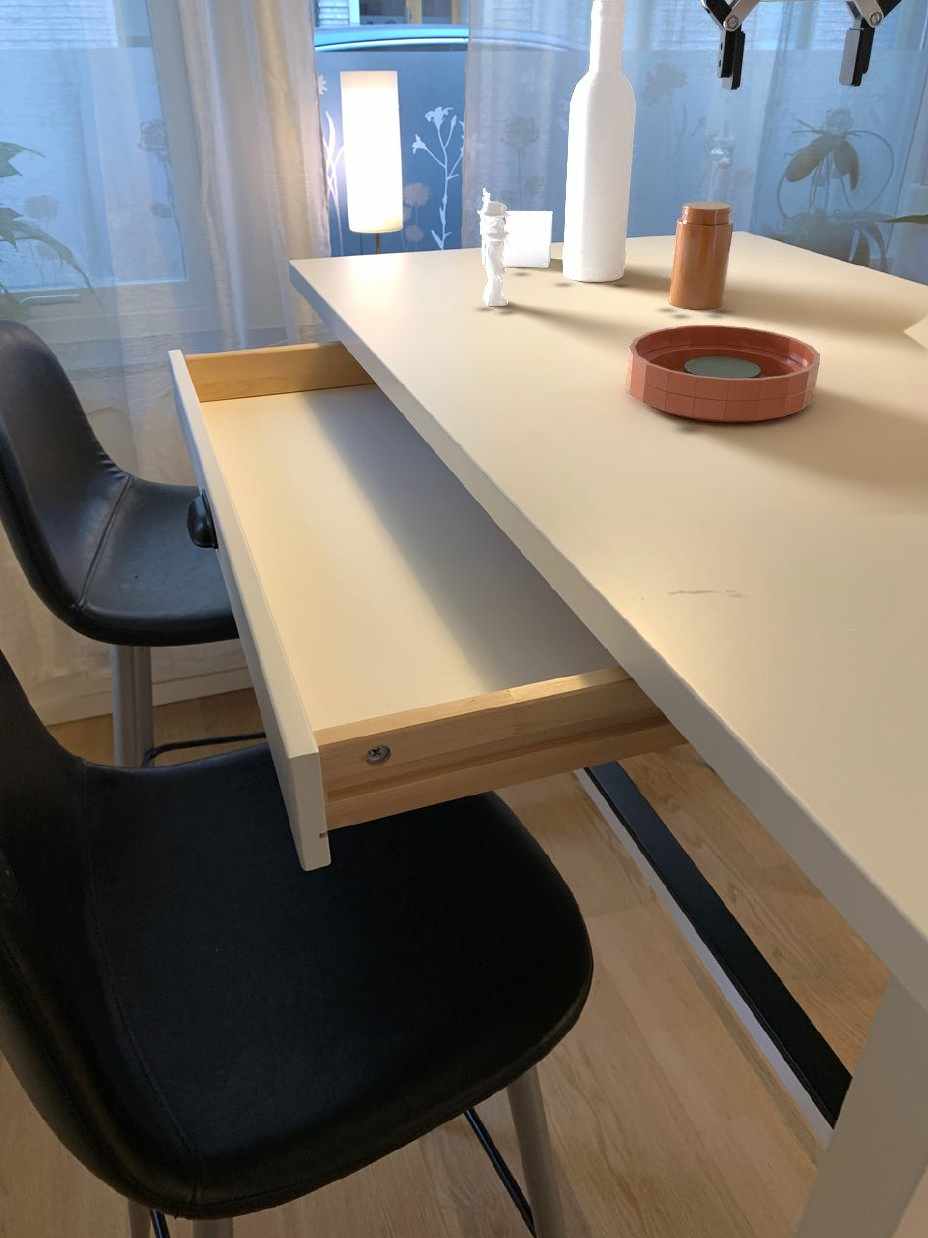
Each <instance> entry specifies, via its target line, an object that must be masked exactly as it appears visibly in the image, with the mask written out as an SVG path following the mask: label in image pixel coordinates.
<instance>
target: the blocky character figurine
mask: <svg viewBox="0 0 928 1238" xmlns="http://www.w3.org/2000/svg"><path fill="white" fill-rule="evenodd" d="M482 191H483V195H484V196H482V202H484V203H483V207H482V208H481V211H480V210H477V213H478V214H479V216H480V220H481V221H480V222H479V224H480V235H482V237H481V239H482V240H481V256H482V265H485V269H486V272H487V277H488V283H487V285H486V287H485V289H484V292H483V294H484V295H483V300H484V301H485V305H486V306H488V307H504V306H507V305H508V299H507V298H506V296H505V293H502V292H503V285H504V284H503V278H506V276H507V275H506V274H507V273H506V270H505V269H506V267H505V266H504V264H503V263H504V239H506V243H507V245H508V241H507V238H506V235H510V234H509V233H508V232H507V231H505V230H504V225H505V224H506V217H510V216H512V214H510V213H507V212H508V207H507V205H506V204H504V203H502V202H499V201H498V200H494V201H492V199H491V197H492V194H491V193H489V192H488V191H486V188H483V190H482ZM485 249H486V250H485ZM485 257H486V261H485Z"/></svg>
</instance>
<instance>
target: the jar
mask: <svg viewBox="0 0 928 1238" xmlns="http://www.w3.org/2000/svg"><path fill="white" fill-rule="evenodd" d="M681 208H682V209H681V217H679V218H677V220H676V227H675V237H674V247H673V256H672V257H673V258H672V267H671V277H670V286H669V295H668V296H669V297H668V303H669V304H670V303H671V304H670V305H672V304H673V305H672V306H674V305H675V306H674V307H676V308H681V307H682V308H681V309H688V308H689V309H688V310H701V311H702V310H713V309H718V308H720V307H722V306H723V305H724V300H725V293H726V285H727V277H728V276H727V275H728V271H729V262H730V256H731V255H730V253H731V246H732V239H733V231H734V224H735V223H734V220H733V219H731V213H732V212H733V210H732V205H731V204H729V203H725V202H719V201H708V200H707V201H703V200H702V201H689V202H686V203H683V204H682V205H681ZM677 306H678V307H677Z"/></svg>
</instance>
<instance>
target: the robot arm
mask: <svg viewBox="0 0 928 1238" xmlns="http://www.w3.org/2000/svg"><path fill="white" fill-rule="evenodd" d="M811 1H813V2H814V1H817V2H818V0H730V2H729V3H728V2H727V1H726V0H700V5H701V7H702V8H703V9H704V11H705V12H706V13H707V15H708V16H709V18H710V19H711V20H712V21H713V22H714V24H715V25H716V28H717V30H719V31H720V33H719V34H720V35H719V43H718V53H717V54H718V56H717V65H716V78H718V79H721V88H722V89H725V90H728V91H737V90H738V89H740V87H741V82H742V81H741V80H742V72H743V65H744V64H743V63H744V54H745V45H746V36H747V35H746V33H745V30H742V27H743V23H744V21H745V20H746V19H747V18H748V17H749V15H750V13H751V12H752V11H753V10H754V9H755V8H756V7H757V5H758V4H759V3H763V2H764V3H768V2H769V3H771V2H772V3H775V2H811ZM842 2H843V4H844V6H845V8H846V10H847V12H848V14H850V16H851V18H852V20H853V24H852V27H848V29H847V30H846V31H845V32H846V33H845V39H844V45H843V51H842V57H841V65H840V71H839V77H838V83H839V84H841V86H846V87H854V88H855V87H860V86H861V84H862V80H863V75H866V74H867V73H868V71H869V68H870V62H871V57H872V50H873V45H874V39H875V33H876V28H878V27H880V26H881V25H882V23H883V22H884V19H885V18H886V17H887V16H888V15H889V14H890V13H892V11H893V10H894V9H895V8H896V7H897V6H898V5H899V4H900V3H901V2H902V0H842Z"/></svg>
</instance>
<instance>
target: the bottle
mask: <svg viewBox="0 0 928 1238" xmlns="http://www.w3.org/2000/svg"><path fill="white" fill-rule="evenodd" d="M592 4H593V5H592V11H591V14H590V15H591V16H590V18H591V40H590V56H589V57H590V59H589V60H590V61H589V70H588V71H587V73H586V74H585V75H584V76H583V77H582V79H580V81H579V82H578V83H577V84H576V87H575V90H574V92H573V95H572V98H571V101H570V107H569V109H570V110H569V129H568V130H569V131H568V154H567V174H566V175H567V177H566V196H565V197H566V198H565V199H566V200H565V218H564V219H565V221H564V222H565V224H564V242H563V243H564V245H563V251H562V265H563V267H562V275H563V276H564V277H565V278H566V279H569V280H571V281H572V280H573V281H576V282H585V283H606V282H613V281H617V280H619V279H621V278H622V277H624V271H625V265H626V258H627V251H626V245H627V234H628V233H627V232H628V219H629V205H630V195H631V182H632V181H631V180H632V169H633V156H634V155H633V153H634V141H635V129H636V128H635V126H636V115H637V113H636V112H637V101H636V96H635V92H634V87H633V84H632V83H631V82H630V81H629V79H628V78H627V77H626V75H625V74H624V73H623V72H622V59H623V45H624V44H623V43H624V29H625V20H626V17H627V12H626V1H625V0H594V1H593V3H592Z"/></svg>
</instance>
